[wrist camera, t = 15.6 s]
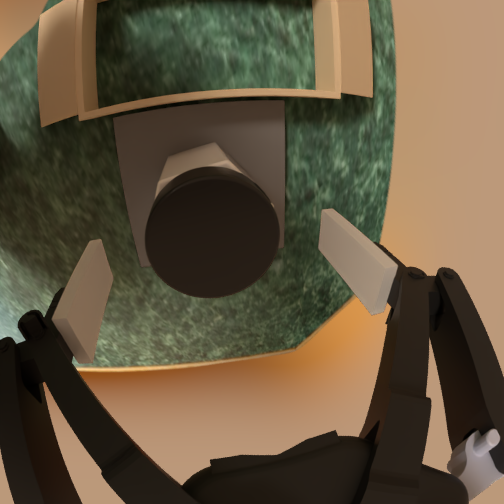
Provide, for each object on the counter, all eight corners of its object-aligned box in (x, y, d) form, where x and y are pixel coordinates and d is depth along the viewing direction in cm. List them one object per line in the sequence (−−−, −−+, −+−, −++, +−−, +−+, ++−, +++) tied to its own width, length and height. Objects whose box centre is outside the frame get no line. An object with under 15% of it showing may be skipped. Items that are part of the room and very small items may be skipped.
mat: (141, 264, 30) (141, 267, 29) (114, 117, 22) (113, 117, 21) (282, 245, 32) (283, 247, 32) (282, 100, 24) (284, 100, 24)
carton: (52, 130, 20) (33, 136, 17) (50, 15, 14) (33, 6, 10) (360, 101, 25) (382, 104, 22) (355, -3, 19) (376, -12, 15)
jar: (230, 235, 30) (256, 310, 19) (153, 221, 27) (137, 295, 17) (256, 152, 26) (303, 188, 16) (172, 132, 23) (159, 153, 13)
